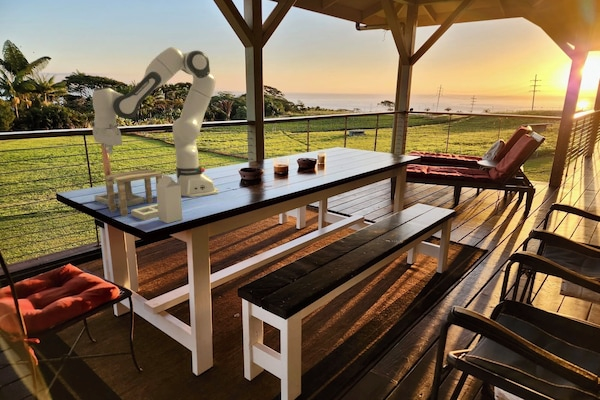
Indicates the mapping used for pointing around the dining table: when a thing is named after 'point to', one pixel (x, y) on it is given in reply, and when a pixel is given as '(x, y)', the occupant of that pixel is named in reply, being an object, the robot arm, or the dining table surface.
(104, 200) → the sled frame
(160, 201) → the milk carton
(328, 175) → the dining table surface
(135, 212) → the pit deck
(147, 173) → the tunnel
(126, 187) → the carving
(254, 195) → the dining table surface
